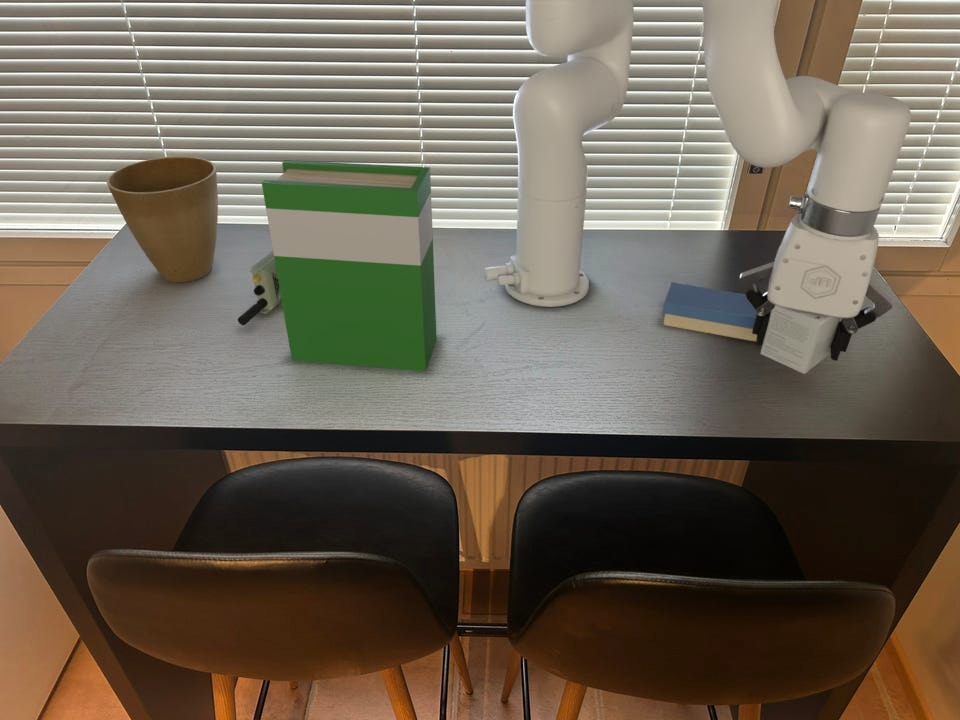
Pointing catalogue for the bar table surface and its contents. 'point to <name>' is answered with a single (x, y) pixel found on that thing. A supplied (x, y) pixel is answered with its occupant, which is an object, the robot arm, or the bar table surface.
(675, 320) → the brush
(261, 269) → the handheld radio
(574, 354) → the bar table surface
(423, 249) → the hardback book
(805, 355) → the product box
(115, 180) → the plant pot
